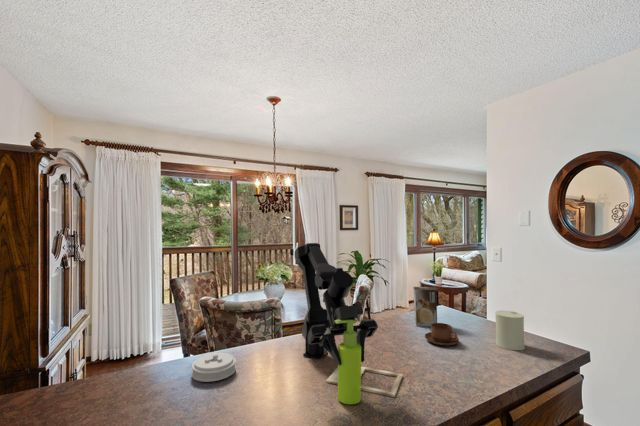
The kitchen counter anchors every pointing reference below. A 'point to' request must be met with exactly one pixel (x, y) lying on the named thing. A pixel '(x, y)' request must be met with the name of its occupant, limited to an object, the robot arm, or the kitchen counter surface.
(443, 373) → the kitchen counter surface
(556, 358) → the kitchen counter surface
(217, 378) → the lid
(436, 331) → the cup and saucer
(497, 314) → the can
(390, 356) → the kitchen counter surface
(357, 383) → the soap dispenser
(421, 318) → the coffee box
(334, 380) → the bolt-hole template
